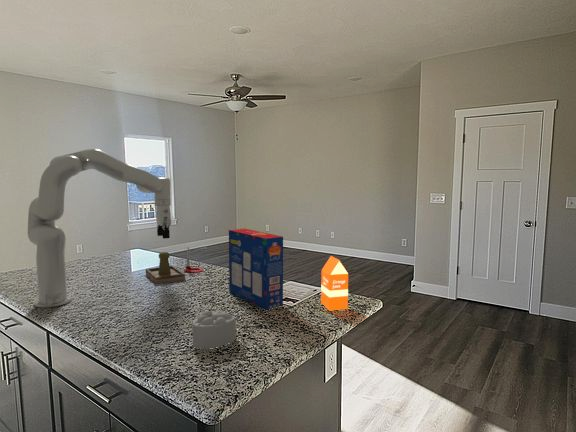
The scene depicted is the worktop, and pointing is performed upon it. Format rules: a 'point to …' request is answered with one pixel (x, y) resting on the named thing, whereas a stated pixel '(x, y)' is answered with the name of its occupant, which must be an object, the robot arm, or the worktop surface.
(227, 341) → the lumpy-topped squat cylinder
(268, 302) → the pasta box
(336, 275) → the orange juice
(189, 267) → the tow hook
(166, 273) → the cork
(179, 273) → the walnut tray
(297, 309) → the worktop surface
